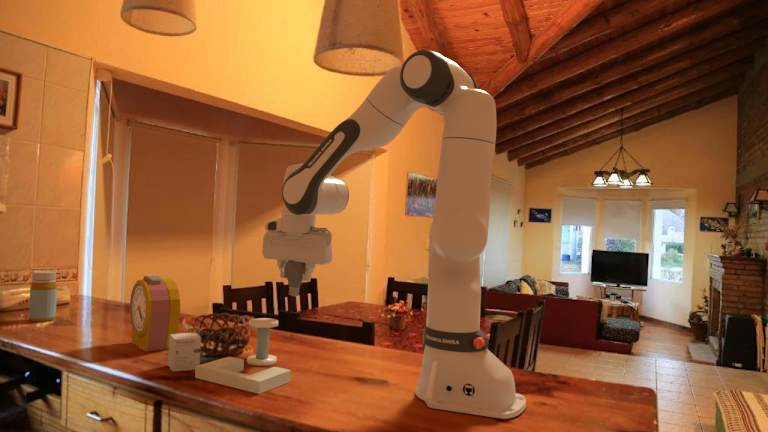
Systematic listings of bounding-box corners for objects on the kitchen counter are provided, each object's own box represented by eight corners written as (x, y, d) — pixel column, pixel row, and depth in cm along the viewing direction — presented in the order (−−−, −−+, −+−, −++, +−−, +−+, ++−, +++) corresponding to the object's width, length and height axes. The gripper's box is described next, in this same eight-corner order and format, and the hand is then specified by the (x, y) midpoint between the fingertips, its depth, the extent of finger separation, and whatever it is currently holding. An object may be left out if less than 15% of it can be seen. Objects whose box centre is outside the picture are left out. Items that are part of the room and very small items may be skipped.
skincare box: (171, 372, 118) (173, 339, 118) (167, 365, 123) (169, 333, 123) (200, 369, 121) (201, 337, 121) (194, 362, 127) (196, 331, 127)
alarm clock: (127, 341, 144) (130, 273, 144) (158, 337, 149) (161, 272, 149) (145, 353, 132) (148, 279, 132) (178, 349, 138) (181, 278, 138)
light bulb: (283, 297, 134) (286, 257, 134) (281, 294, 140) (283, 256, 140) (306, 298, 135) (309, 258, 136) (303, 295, 141) (306, 257, 142)
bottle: (60, 320, 165) (62, 272, 165) (35, 323, 159) (38, 273, 159) (48, 317, 169) (50, 270, 169) (24, 320, 163) (26, 271, 163)
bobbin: (282, 361, 131) (284, 320, 131) (263, 367, 125) (265, 325, 125) (260, 356, 134) (262, 317, 134) (240, 362, 128) (242, 321, 128)
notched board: (290, 381, 115) (291, 370, 115) (259, 393, 107) (259, 381, 107) (228, 367, 124) (229, 356, 124) (195, 377, 115) (195, 366, 115)
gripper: (338, 228, 136) (335, 282, 136) (275, 223, 145) (272, 274, 145) (324, 227, 130) (321, 284, 130) (260, 223, 140) (257, 276, 140)
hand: (295, 279), depth 138 cm, fingers closed on light bulb, 6 cm apart
